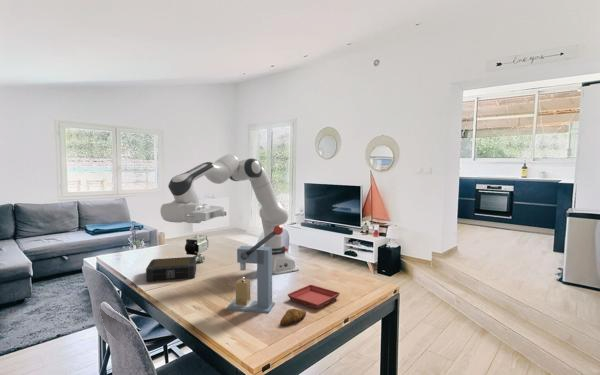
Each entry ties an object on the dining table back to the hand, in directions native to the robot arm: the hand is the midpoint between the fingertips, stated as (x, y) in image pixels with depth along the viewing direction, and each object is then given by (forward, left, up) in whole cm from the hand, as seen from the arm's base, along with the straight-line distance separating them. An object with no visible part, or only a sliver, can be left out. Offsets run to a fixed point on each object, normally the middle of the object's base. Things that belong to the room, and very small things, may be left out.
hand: (225, 214), depth 144 cm
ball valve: (+9, -76, -41) cm, 87 cm away
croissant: (-24, +23, -42) cm, 53 cm away
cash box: (+24, -54, -42) cm, 72 cm away
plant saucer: (-39, +6, -42) cm, 58 cm away
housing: (-7, +1, -40) cm, 41 cm away
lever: (-6, +7, -18) cm, 20 cm away
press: (-10, +4, -41) cm, 43 cm away
